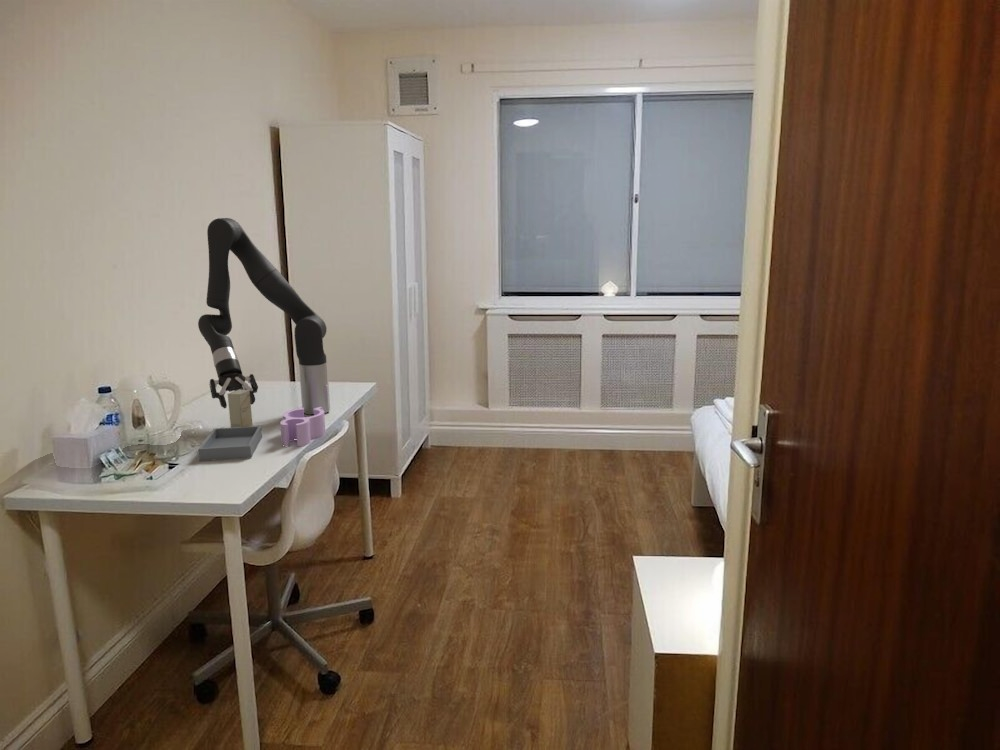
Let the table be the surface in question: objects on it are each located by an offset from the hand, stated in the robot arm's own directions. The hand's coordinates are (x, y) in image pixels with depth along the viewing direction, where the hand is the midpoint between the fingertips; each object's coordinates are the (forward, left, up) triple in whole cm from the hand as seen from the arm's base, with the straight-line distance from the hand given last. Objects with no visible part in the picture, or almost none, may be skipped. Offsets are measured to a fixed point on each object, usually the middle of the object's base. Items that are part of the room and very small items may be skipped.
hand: (239, 405), depth 232 cm
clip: (-21, +13, -8) cm, 26 cm away
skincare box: (0, 0, -8) cm, 8 cm away
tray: (-1, +21, -8) cm, 23 cm away
